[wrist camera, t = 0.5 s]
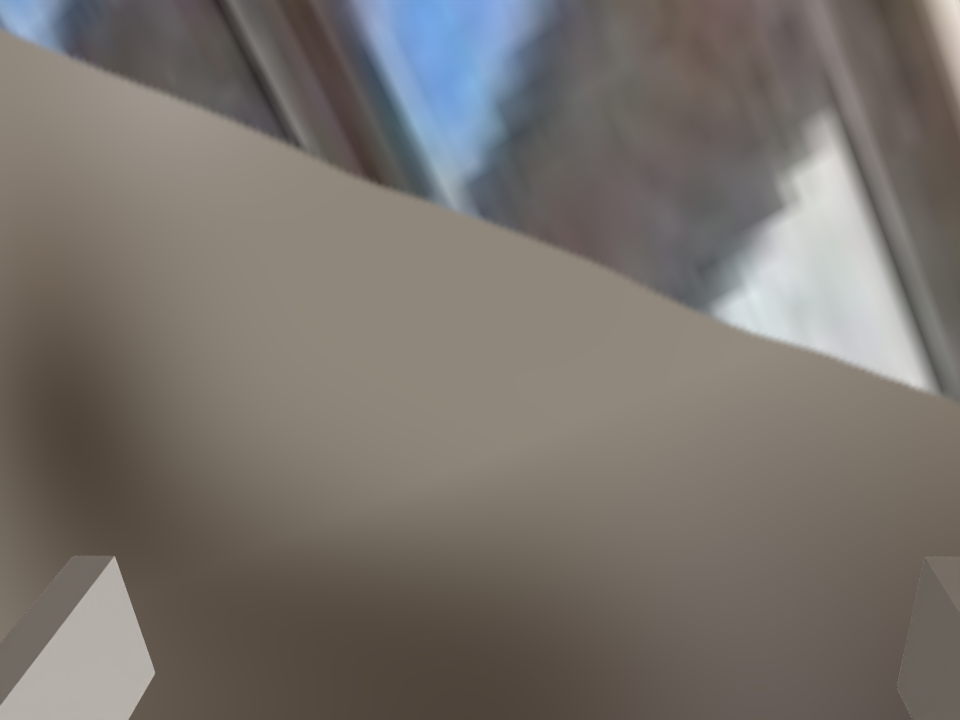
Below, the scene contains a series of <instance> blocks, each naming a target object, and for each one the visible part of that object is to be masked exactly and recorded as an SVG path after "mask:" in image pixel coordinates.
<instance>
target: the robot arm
mask: <svg viewBox="0 0 960 720" xmlns="http://www.w3.org/2000/svg"><path fill="white" fill-rule="evenodd" d="M154 674H155V671H154V668H153V665H152V662H151V659H150V657H149V654H148V651H147V648H146V645H145V642H144V639H143V637H142V634H141V631H140V628H139V625H138V622H137V619H136V616H135V614H134V610H133V607H132V605H131V602H130V599H129V596H128V593H127V590H126V587H125V584H124V582H123V579H122V576H121V573H120V570H119V567H118V564H117V561H116V558H115V556H73V557H72V558H71V559H70V560H69V561H68V562H67V564H66V565H65V566H64V567H63V568H62V570H61V571H60V572H59V573H58V574H57V576H56V577H55V578H54V579H53V580H52V582H51V583H50V584H49V585H48V586H47V588H46V589H45V590H44V591H43V592H42V594H41V595H40V596H39V597H38V598H37V600H36V601H35V602H34V603H33V604H32V605H31V607H30V608H29V609H28V610H27V611H26V613H25V614H24V615H23V616H22V618H21V619H20V620H19V621H18V622H17V623H16V625H15V626H14V627H13V628H12V629H11V631H10V632H9V633H8V634H7V636H6V637H5V638H4V639H3V640H2V641H1V643H0V720H128V719H129V717H130V716H131V714H132V712H133V711H134V709H135V707H136V705H137V704H138V702H139V700H140V698H141V697H142V695H143V693H144V691H145V690H146V688H147V686H148V685H149V683H150V681H151V679H152V678H153V676H154ZM897 688H898V691H899V693H900V695H901V697H902V699H903V701H904V703H905V705H906V708H907V709H908V712H909V714H910V716H911V718H912V720H960V557H924V562H923V566H922V571H921V576H920V581H919V585H918V590H917V595H916V600H915V604H914V609H913V614H912V619H911V623H910V628H909V633H908V637H907V642H906V647H905V652H904V656H903V661H902V666H901V670H900V675H899V680H898V684H897Z"/></svg>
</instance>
